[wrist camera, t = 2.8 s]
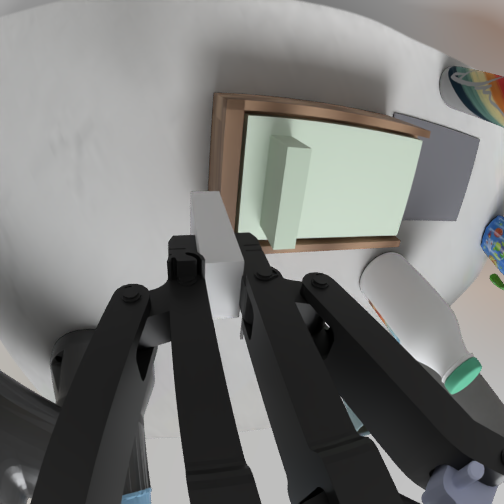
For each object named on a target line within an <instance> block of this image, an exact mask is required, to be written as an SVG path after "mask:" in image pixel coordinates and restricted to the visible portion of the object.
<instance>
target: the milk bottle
mask: <svg viewBox="0 0 504 504" xmlns="http://www.w3.org/2000/svg"><path fill="white" fill-rule="evenodd" d="M360 288H361V292H362V293H363V295H364V296H365V298H366V299H367V300H368V302H369V303H370V305H371V306H372V307H373V309H374V310H375V311H376V313H377V314H378V315H379V317H380V318H381V320H382V321H383V322H384V324H385V325H386V326H387V328H388V329H389V330H390V332H391V333H392V335H393V336H394V337H395V339H396V340H397V341H398V342H399V343H400V344H401V345H402V346H403V347H404V348H405V349H406V350H407V351H408V352H409V353H410V354H411V355H412V356H413V357H414V358H415V359H416V360H417V361H419V362H421V363H423V364H425V365H427V366H429V367H430V368H432V369H433V370H435V371H436V372H437V373H438V374H439V375H440V376H441V377H442V382H443V383H444V385H445V387H446V389H447V390H448V391H449V393H450V394H455V393H457V392H459V391H461V390H462V389H464V388H465V387H466V386H467V385H469V384H470V383H471V382H472V381H473V380H474V379H475V378H476V376H477V375H478V374H479V372H480V371H481V369H482V366H481V364H480V362H479V361H478V360H477V358H475V357H474V356H473V354H472V353H469V352H468V351H467V349H466V347H465V345H464V342H463V339H462V336H461V332H460V328H459V324H458V321H457V319H456V316H455V314H454V313H453V311H452V309H451V308H450V306H449V305H448V304H447V303H446V301H445V300H444V299H443V298H442V297H441V296H440V294H439V293H438V292H437V291H436V290H435V289H434V288H433V287H432V286H431V285H430V284H429V282H428V281H427V280H426V279H425V278H424V277H423V276H422V275H421V274H420V273H419V272H418V271H417V270H416V269H415V268H414V267H413V266H412V265H411V264H410V263H409V262H408V261H407V260H406V259H405V258H404V257H403V256H402V255H400V254H398V253H394V252H388V253H384V254H382V255H380V256H378V257H376V258H375V259H374V260H373V261H371V263H370V264H369V265H368V266H367V267H366V268H365V270H364V272H363V274H362V276H361V280H360Z"/></svg>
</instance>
